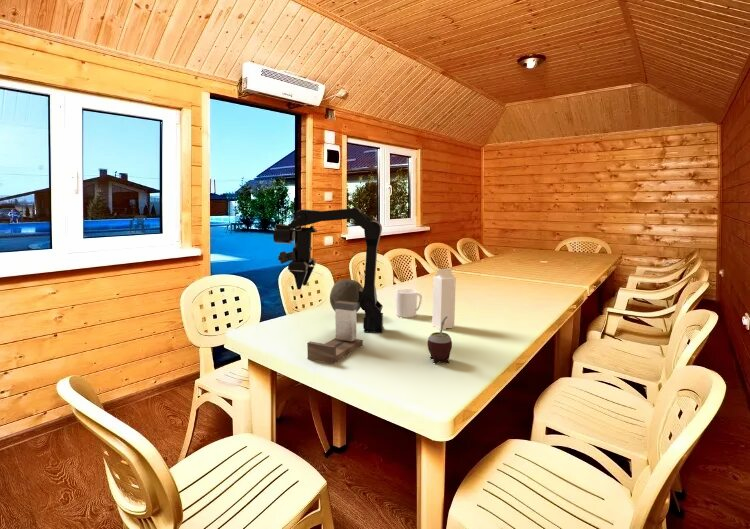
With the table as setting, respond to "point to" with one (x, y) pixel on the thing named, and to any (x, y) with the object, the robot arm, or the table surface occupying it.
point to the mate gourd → (440, 345)
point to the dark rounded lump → (345, 292)
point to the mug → (407, 303)
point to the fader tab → (345, 320)
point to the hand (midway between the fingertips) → (301, 287)
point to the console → (332, 350)
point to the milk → (444, 298)
